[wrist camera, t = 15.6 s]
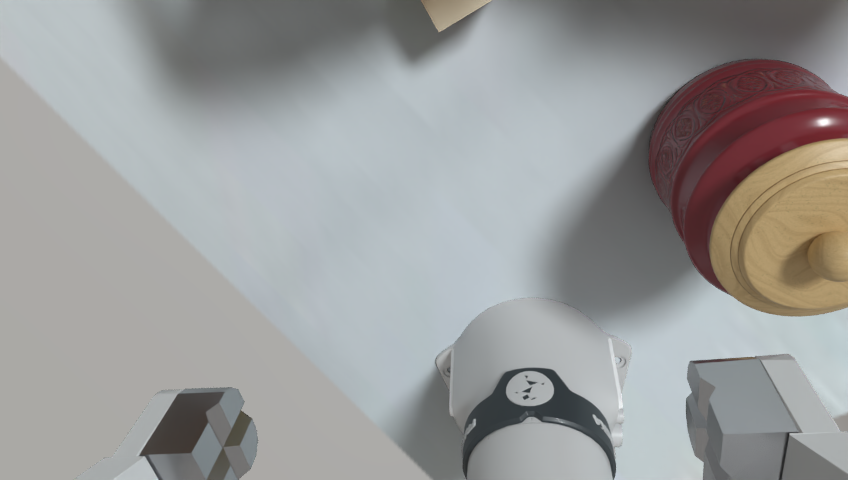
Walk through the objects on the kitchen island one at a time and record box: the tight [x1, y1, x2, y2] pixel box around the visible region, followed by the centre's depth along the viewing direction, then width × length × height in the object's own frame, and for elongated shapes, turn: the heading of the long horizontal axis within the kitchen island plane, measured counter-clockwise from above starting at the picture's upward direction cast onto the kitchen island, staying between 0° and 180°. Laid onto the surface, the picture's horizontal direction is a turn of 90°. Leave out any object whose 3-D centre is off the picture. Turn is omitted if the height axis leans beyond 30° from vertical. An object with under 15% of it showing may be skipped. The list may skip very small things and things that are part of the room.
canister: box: [649, 59, 848, 316], centre depth 38 cm, size 13×13×18 cm
